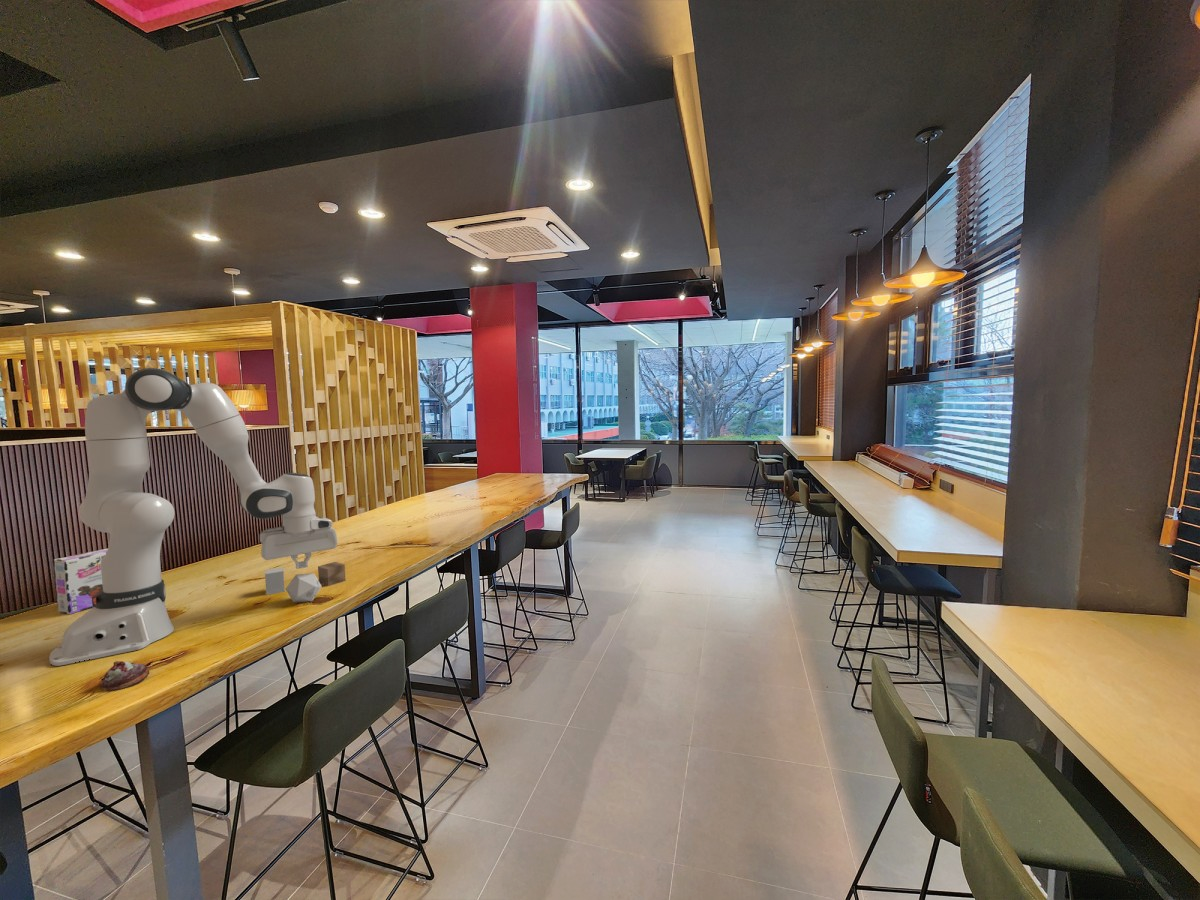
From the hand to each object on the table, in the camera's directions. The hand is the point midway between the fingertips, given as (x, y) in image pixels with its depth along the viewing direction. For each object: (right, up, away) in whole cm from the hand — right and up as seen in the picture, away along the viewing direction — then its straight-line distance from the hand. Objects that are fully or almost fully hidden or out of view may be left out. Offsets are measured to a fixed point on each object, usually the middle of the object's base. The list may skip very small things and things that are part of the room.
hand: (301, 567), depth 150 cm
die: (0, -11, +1) cm, 11 cm away
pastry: (-11, -15, -44) cm, 48 cm away
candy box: (-64, -12, -1) cm, 65 cm away
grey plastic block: (-14, -10, +9) cm, 20 cm away
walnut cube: (0, -9, +17) cm, 20 cm away
